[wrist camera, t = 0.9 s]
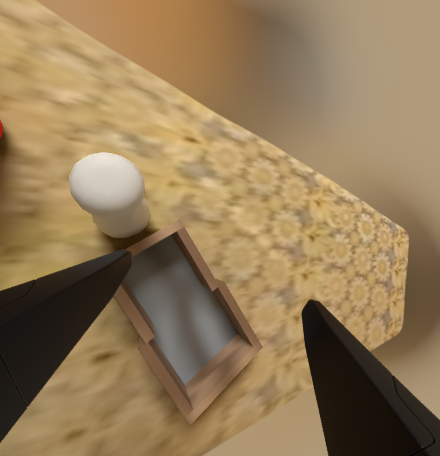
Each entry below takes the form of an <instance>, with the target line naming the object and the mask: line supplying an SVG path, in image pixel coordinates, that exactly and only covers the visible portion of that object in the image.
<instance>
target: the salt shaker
mask: <svg viewBox="0 0 440 456" xmlns="http://www.w3.org/2000/svg"><path fill="white" fill-rule="evenodd" d="M69 181H70V190H71V194H72V196H73V198H74V199H75V200H76V201H77V203H78V204H79V205H80V207H81V208H82V209H83V210H85V211H87V212H89V213H90V214H92V218H93V222H94V223H95V224H96V226H97V227H98V228H99V229H100V231H101V232H103V233H105V234H107V235H109V236H111V237H113V238H128V237H131V236H134V235H137V234H139V233H140V232H141V231H142V230H143V229H144V228H145V227H146V226H147V223H148V220H149V218H150V210H149V205H148V203H147V202H146V200H145V199H144V195H145V193H146V192H145V186H144V179H143V177H142V175H141V174H140V172H139V171H138V169H137V168H136V166H135V165H134V164H133V163H131V162H130V161H128V160H127V159H125V158H124V157H122V156H120V155H116V154H111V153H107V152H102V153H96V154H90V155H87V156H86V157H84V158H83V159H81V160H80V161H78V162H77V163H75V165H74V168H73V170H72V172H71V174H70V176H69Z"/></svg>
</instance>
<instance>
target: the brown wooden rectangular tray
mask: <svg viewBox="0 0 440 456" xmlns="http://www.w3.org/2000/svg"><path fill="white" fill-rule="evenodd" d="M125 250H129V251H131V252H132V265H131V268H130V270H129V272H128V273H127V275H126V276H125V278H124V280H123V281H122V283H121V285H120V286H119V288H118V289H117V291H116V293H115V294H114V298H115V299H116V301H117V302H118V304H119V305H120V306H121V308H122V309H123V311H124V312H125V314H126V315H127V317H128V318H129V320H130V321H131V323H132V324H133V326H134V327H135V329H136V330H137V332H138V350H139V351H140V353H141V354H142V356H143V357H144V359H145V360H146V362H147V363H148V365H149V366H150V368H151V369H152V370H153V372H154V373H155V375H156V376H157V378H158V379H159V381H160V382H161V384H162V385H163V387H164V388H165V390H166V391H167V392H168V394H169V395H170V397H171V398H172V400H173V401H174V403H175V404H176V406H177V407H178V409H179V410H180V412H181V413H182V414H183V416H184V417H185V419H186V420H187V422H188V423H189V425H191V424H192V423H193V422H194V421H195V420H196V419H197V418H198V417H199V415H200V414H201V413H202V412H203V411H204V410H205V409H206V408H207V407H208V406H209V405H210V404H211V403H212V401H213V400H214V399H215V398H216V397H217V396H218V395H219V394H220V393H221V392H222V391H223V390H224V389H225V387H226V386H227V385H228V384H229V383H230V382H231V381H232V380H233V379H234V378H235V377H236V376H237V375H238V373H239V372H240V371H241V370H242V369H243V368H244V367H245V366H246V365H247V364H248V363H249V362H250V361H251V359H252V358H253V357H254V356H255V355H256V354H257V353H258V352H259V351H260V350H261V349H262V348H263V347H262V345H261V344H260V342H259V340H258V339H257V337H256V335H255V334H254V332H253V330H252V328H251V327H250V325H249V323H248V322H247V320H246V318H245V316H244V315H243V313H242V311H241V310H240V308H239V306H238V305H237V303H236V301H235V299H234V298H233V296H232V294H231V293H230V291H229V289H228V287H227V286H226V284H225V282H223V281H220V280H218V279H215V278H214V276H213V275H212V273H211V271H210V270H209V268H208V266H207V265H206V263H205V261H204V260H203V258H202V256H201V254H200V253H199V251H198V249H197V248H196V246H195V244H194V243H193V241H192V239H191V238H190V236H189V234H188V232H187V231H186V229H185V227H184V226H183V224H182V222H181V221H180V219H179V220H177V221H176V222H174V223H172V224H170V225H168V226H167V227H165V228H163V229H161V230H159V231H157V232H156V233H154V234H152V235H150V236H148V237H147V238H145V239H143V240H141V241H139V242H137V243H136V244H134V245H132V246H130V247H128V248H127V249H125Z"/></svg>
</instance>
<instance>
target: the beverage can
mask: <svg viewBox="0 0 440 456" xmlns="http://www.w3.org/2000/svg"><path fill="white" fill-rule="evenodd" d="M1 136H2V123H1V120H0V138H1Z"/></svg>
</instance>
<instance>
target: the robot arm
mask: <svg viewBox="0 0 440 456" xmlns="http://www.w3.org/2000/svg"><path fill="white" fill-rule="evenodd" d="M131 265H132V252H131V251H129V250H125V249H122V250H119V251H116V252H113V253H110V254H107V255H104V256H101V257H98V258H95V259H93V260H90V261H87V262H84V263H81V264H78V265H75V266H72V267H69V268H67V269H64V270H61V271H58V272H55V273H52V274H49V275H46V276H43V277H40V278H38V279H36V280H32V281H29V282H26V283H23V284H20V285H17V286H14V287H11V288H8V289H5V290H2V291H0V443H1V441H2V440H3V439H4V437H5V436H6V435H7V433H8V432H9V431H10V430H11V428H12V427H13V426H14V424H15V423H16V422H17V421H18V419H19V418H20V417H21V415H22V414H23V413H24V411H25V410H26V409H27V407H28V406H29V405H30V403H31V402H32V401H33V400H34V398H35V397H36V396H37V394H38V393H39V392H40V390H41V389H42V388H43V387H44V385H45V384H46V383H47V381H48V380H49V379H50V378H51V376H52V375H53V374H54V372H55V371H56V370H57V368H58V367H59V366H60V365H61V363H62V362H63V361H64V359H65V358H66V357H67V355H68V354H69V353H70V352H71V350H72V349H73V348H74V346H75V345H76V344H77V343H78V341H79V340H80V339H81V337H82V336H83V335H84V333H85V332H86V331H87V330H88V328H89V327H90V326H91V324H92V323H93V322H94V320H95V319H96V318H97V317H98V315H99V314H100V313H101V311H102V310H103V309H104V308H105V306H106V305H107V304H108V302H109V301H110V300H111V298H112V297H113V296H114V294H115V293H116V291H117V289H118V288H119V286H120V285H121V283H122V281H123V280H124V278H125V276H126V275H127V273H128V272H129V270H130V268H131ZM302 323H303V332H304V341H305V348H306V353H307V358H308V362H309V367H310V372H311V376H312V381H313V386H314V390H315V395H316V400H317V404H318V408H319V414H320V418H321V423H322V428H323V432H324V437H325V442H326V446H327V451H328V456H440V420H439V419H438V418H437V417H436V416H435V415H434V414H433V413H432V412H431V411H430V410H428V409H427V408H426V407H425V406H424V405H423V404H422V403H421V402H420V401H419V400H418V399H417V398H416V397H415V396H414V395H413V394H412V393H411V392H410V391H409V390H408V389H407V388H406V387H404V385H403V384H401V382H400V381H399V380H398V379H397V378H396V377H394V376H393V375H392V374H391V373H390V371H389V370H387V368H386V367H385V366H384V365H382V363H381V362H379V361H378V360H377V359H376V358H375V357H374V356H373V355H372V354H371V353H370V352H369V351H368V350H367V349H366V348H365V347H364V346H363V345H362V344H361V343H360V342H359V341H358V340H357V339H356V338H355V337H354V336H353V335H352V334H351V333H350V332H349V331H348V330H347V329H346V328H345V327H344V326H343V325H342V324H341V323H340V322H339V321H338V320H337V319H336V318H335V317H334V316H333V315H332V314H331V313H330V312H329V311H328V310H327V309H326V308H325V307H324V306H323V305H322V304H321V303H320V302H319V301H316V300H313V299H310V300H309V301H308V302H307V304H306V305H305V307H304V308H303V310H302Z"/></svg>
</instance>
